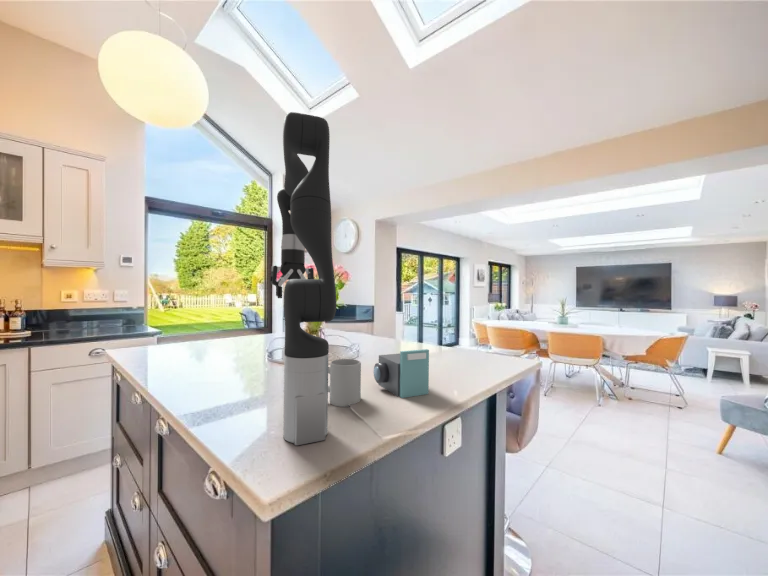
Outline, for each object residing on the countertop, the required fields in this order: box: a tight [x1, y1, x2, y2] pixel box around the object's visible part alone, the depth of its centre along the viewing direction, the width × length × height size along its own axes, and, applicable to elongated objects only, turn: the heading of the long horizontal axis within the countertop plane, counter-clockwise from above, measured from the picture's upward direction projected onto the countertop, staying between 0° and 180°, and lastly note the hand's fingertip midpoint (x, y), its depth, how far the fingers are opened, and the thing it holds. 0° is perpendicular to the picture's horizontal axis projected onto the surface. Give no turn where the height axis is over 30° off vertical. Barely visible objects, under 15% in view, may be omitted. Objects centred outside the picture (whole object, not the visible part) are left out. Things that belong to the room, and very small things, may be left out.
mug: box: [328, 358, 362, 408], centre depth 92 cm, size 12×8×11 cm
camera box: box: [373, 353, 400, 397], centre depth 102 cm, size 13×13×11 cm
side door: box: [399, 348, 430, 399], centre depth 95 cm, size 2×9×13 cm, turn 116°
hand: (292, 298), depth 109 cm, fingers open, 8 cm apart
